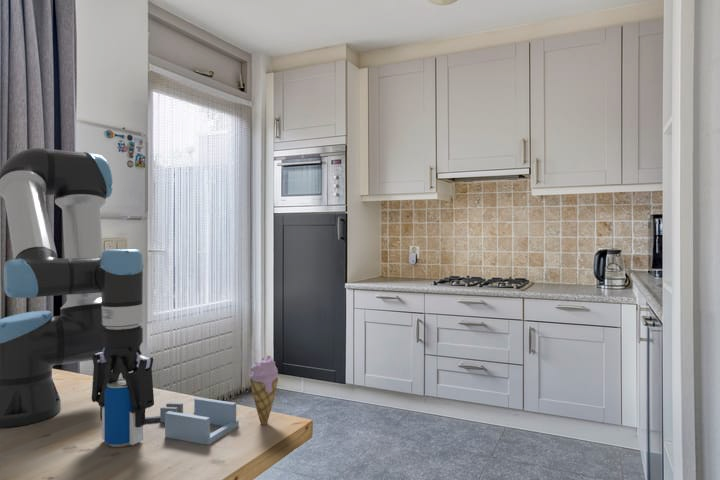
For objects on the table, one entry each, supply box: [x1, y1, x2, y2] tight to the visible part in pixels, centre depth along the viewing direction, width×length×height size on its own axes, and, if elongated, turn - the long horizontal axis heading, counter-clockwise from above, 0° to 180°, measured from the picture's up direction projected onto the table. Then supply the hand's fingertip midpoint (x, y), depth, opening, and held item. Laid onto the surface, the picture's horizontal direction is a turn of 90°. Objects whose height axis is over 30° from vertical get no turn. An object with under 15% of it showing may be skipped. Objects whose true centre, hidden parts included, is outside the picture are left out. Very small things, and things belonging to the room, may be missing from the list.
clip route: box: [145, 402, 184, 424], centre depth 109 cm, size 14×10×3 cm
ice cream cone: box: [248, 354, 279, 426], centre depth 108 cm, size 7×6×15 cm
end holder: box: [164, 397, 240, 446], centre depth 104 cm, size 11×10×5 cm
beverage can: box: [104, 378, 140, 448], centre depth 99 cm, size 6×6×12 cm
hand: (122, 439), depth 99 cm, fingers closed on beverage can, 6 cm apart
